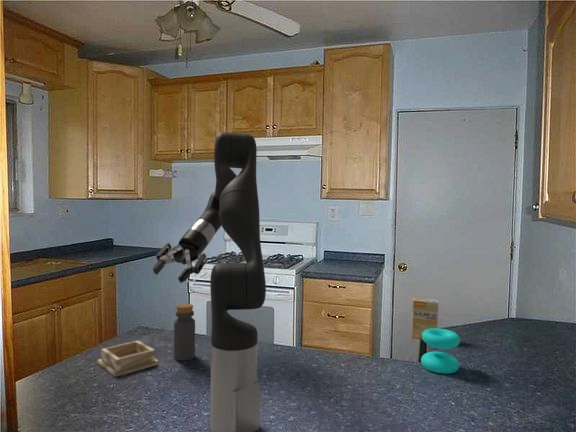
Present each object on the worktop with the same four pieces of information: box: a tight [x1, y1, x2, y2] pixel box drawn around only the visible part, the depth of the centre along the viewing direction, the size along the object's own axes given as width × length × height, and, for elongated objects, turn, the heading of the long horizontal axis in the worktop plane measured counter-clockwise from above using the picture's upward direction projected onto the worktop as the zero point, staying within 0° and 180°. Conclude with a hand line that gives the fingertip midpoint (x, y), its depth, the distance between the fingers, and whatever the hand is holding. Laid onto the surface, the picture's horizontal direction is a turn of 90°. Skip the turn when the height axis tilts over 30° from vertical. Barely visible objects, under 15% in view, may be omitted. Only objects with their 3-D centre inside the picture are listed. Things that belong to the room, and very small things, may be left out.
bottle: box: [173, 303, 196, 362], centre depth 121 cm, size 6×6×15 cm
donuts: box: [420, 327, 461, 375], centre depth 116 cm, size 10×10×10 cm
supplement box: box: [411, 297, 439, 341], centre depth 141 cm, size 8×5×13 cm, turn 73°
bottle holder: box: [97, 340, 160, 378], centre depth 115 cm, size 12×12×4 cm
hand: (167, 276), depth 117 cm, fingers open, 8 cm apart
